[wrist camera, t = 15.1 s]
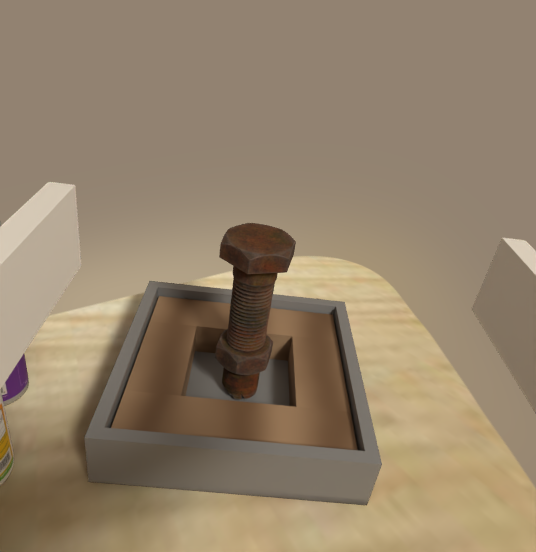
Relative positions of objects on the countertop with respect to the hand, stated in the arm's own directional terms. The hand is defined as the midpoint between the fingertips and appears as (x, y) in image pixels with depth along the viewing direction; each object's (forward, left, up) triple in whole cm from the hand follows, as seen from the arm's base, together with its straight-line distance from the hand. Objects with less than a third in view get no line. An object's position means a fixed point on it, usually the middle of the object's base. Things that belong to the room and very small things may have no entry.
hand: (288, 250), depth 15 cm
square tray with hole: (0, +19, -24) cm, 31 cm away
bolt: (0, +19, -24) cm, 30 cm away
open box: (0, +19, -24) cm, 31 cm away
